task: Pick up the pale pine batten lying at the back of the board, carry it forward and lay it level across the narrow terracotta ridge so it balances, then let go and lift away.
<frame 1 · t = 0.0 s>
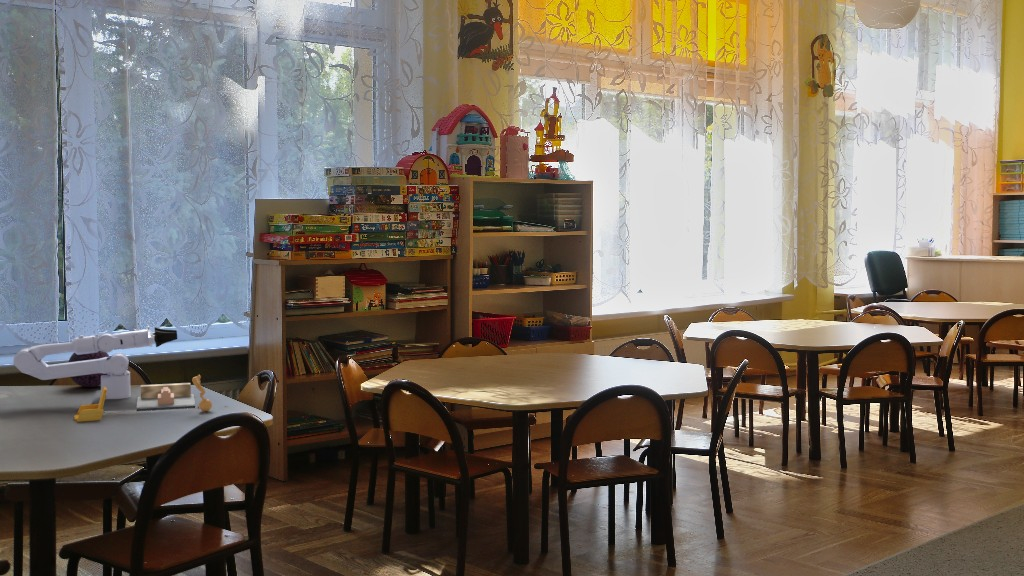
hand: (177, 334, 350), 22 cm above the table, tool horizontal, fingers open, 7 cm apart
figurine: (202, 412, 327), on the table
pine batten: (166, 396, 347), point 1 cm above the table, touching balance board
dollhouse swing: (91, 418, 317), on the table
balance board: (166, 404, 339), on the table
toy ball: (90, 387, 371), on the table
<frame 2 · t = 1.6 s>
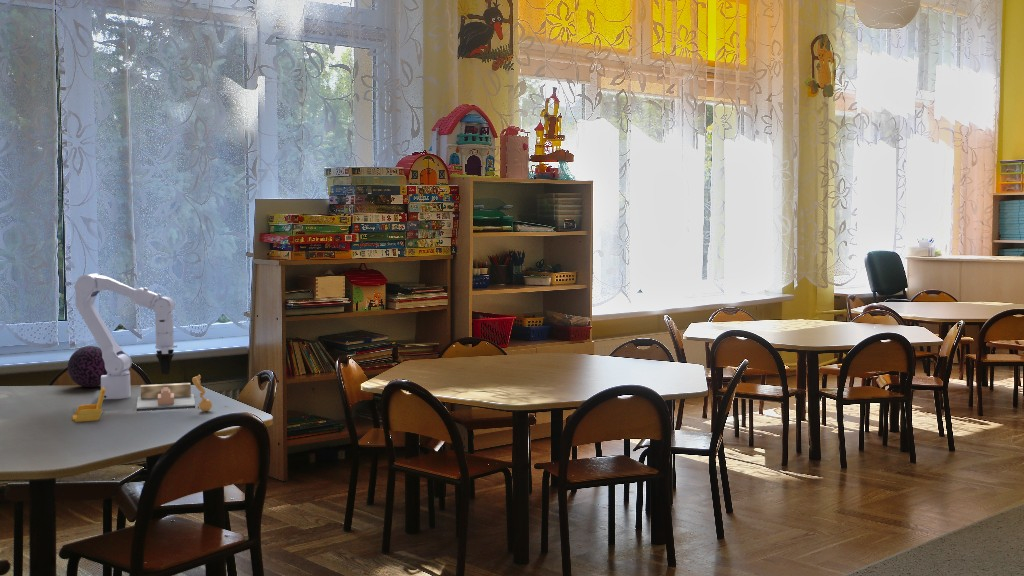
hand: (165, 372, 346), 9 cm above the table, tool pointing down, fingers open, 7 cm apart
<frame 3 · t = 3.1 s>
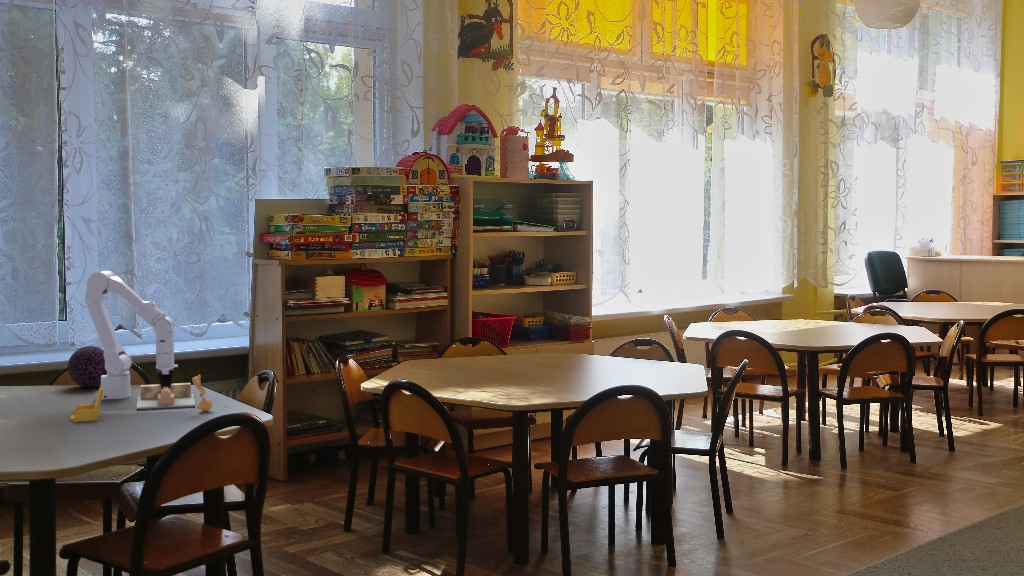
hand: (165, 392, 346), 3 cm above the table, tool pointing down, fingers closed on pine batten, 3 cm apart
pine batten: (166, 396, 347), point 1 cm above the table, touching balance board, gripper
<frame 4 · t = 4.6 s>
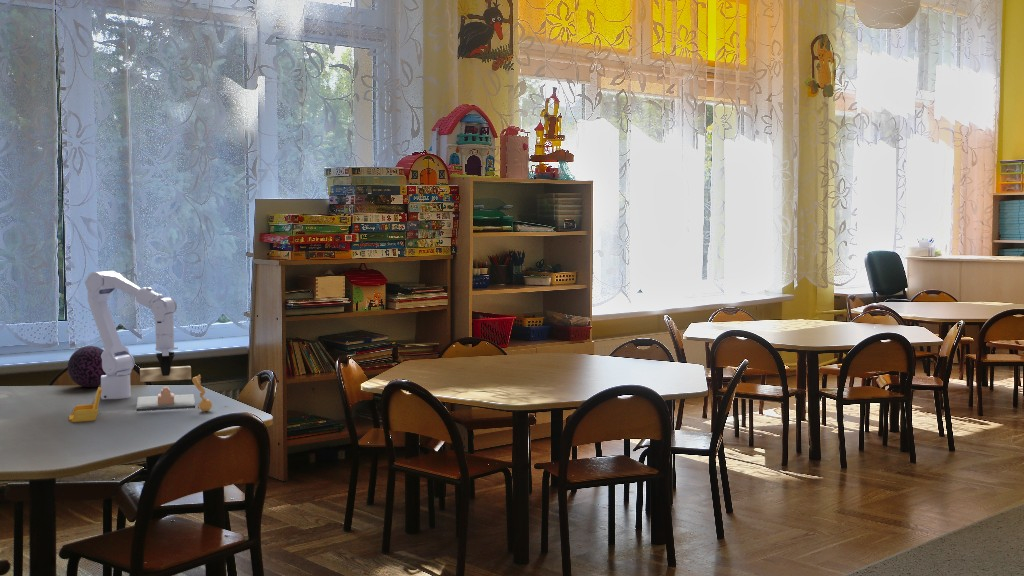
hand: (165, 374, 339), 10 cm above the table, tool pointing down, fingers closed on pine batten, 3 cm apart
pine batten: (165, 379, 339), point 8 cm above the table, touching gripper
when the fingers open (8 cm above the table, at t = 6.2 s): pine batten stays where it is, resting on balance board.
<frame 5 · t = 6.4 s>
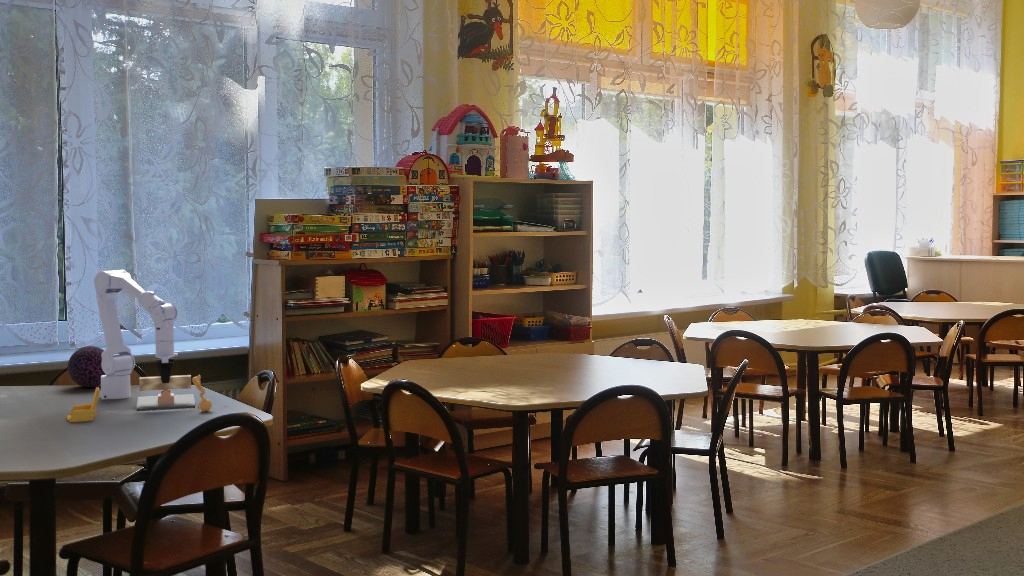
hand: (165, 381, 336), 8 cm above the table, tool pointing down, fingers open, 4 cm apart
pine batten: (165, 388, 336), point 6 cm above the table, touching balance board
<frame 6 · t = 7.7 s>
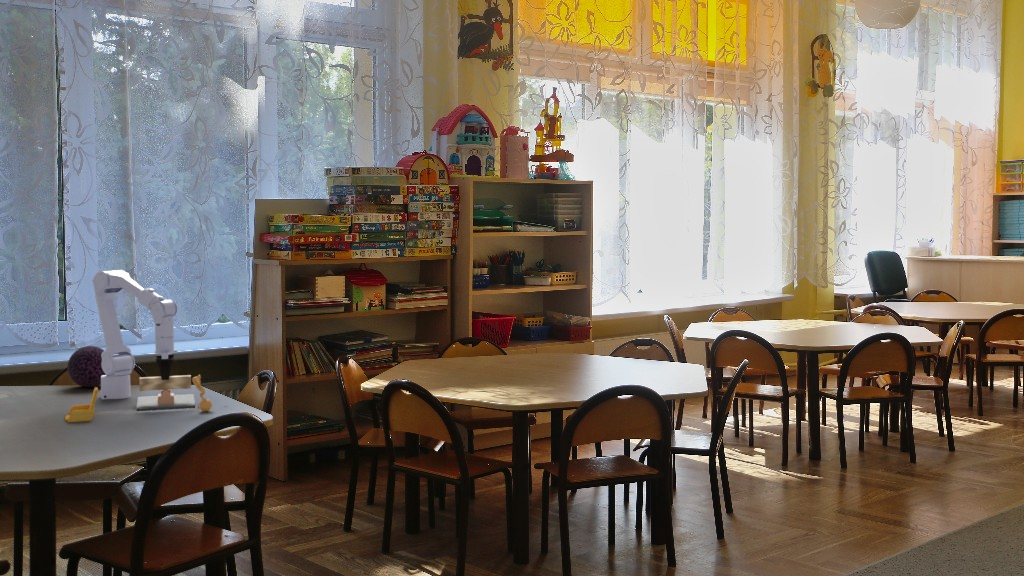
hand: (165, 377, 336), 9 cm above the table, tool pointing down, fingers open, 7 cm apart
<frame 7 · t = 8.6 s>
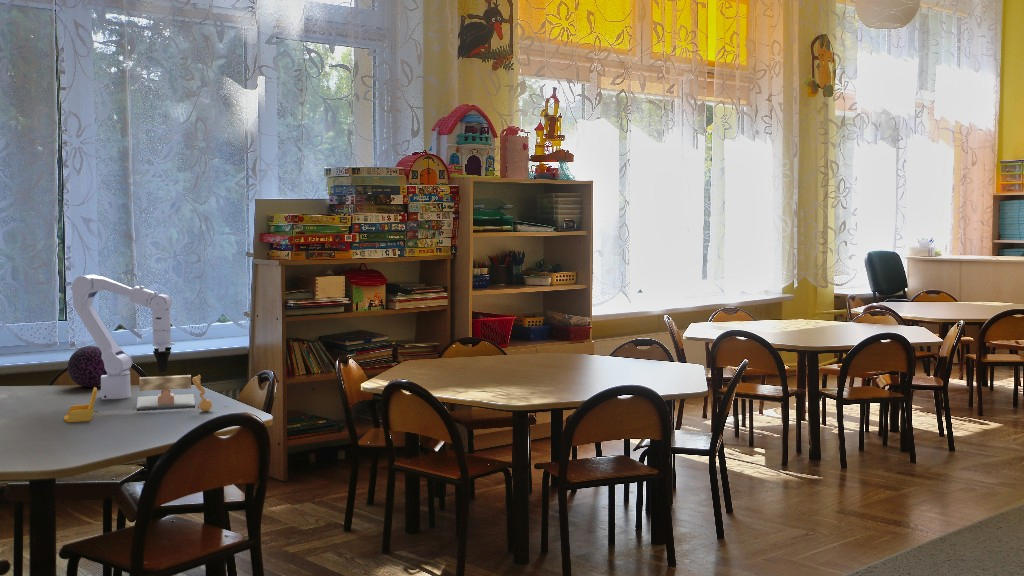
hand: (163, 370, 345), 10 cm above the table, tool pointing down, fingers open, 7 cm apart
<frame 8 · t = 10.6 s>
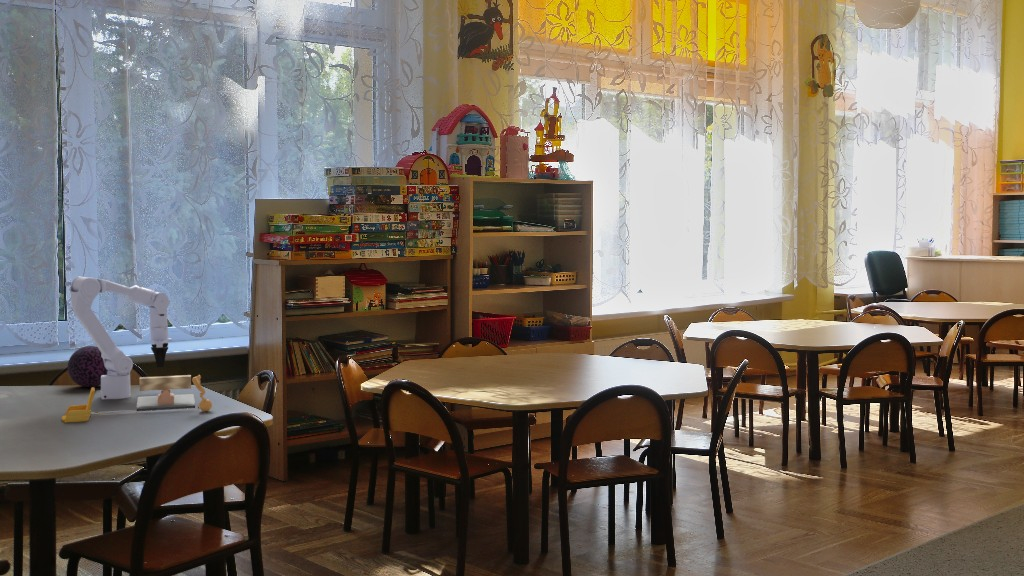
hand: (160, 365, 355), 10 cm above the table, tool pointing down, fingers open, 7 cm apart
at the end: pine batten 0.0 cm from the target spot on the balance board, point 5.6 cm above the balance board's base; pine batten tilted 0°; the gripper is holding nothing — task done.
